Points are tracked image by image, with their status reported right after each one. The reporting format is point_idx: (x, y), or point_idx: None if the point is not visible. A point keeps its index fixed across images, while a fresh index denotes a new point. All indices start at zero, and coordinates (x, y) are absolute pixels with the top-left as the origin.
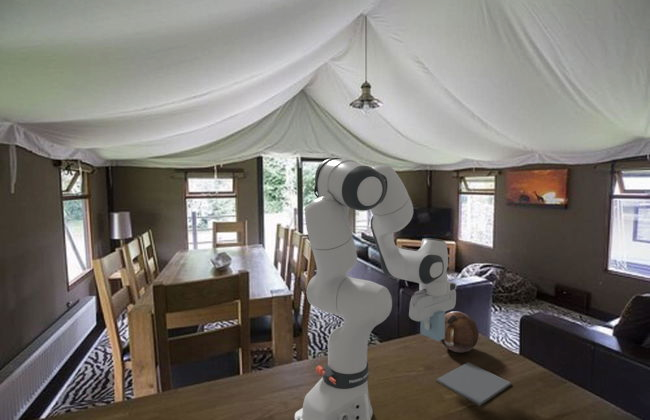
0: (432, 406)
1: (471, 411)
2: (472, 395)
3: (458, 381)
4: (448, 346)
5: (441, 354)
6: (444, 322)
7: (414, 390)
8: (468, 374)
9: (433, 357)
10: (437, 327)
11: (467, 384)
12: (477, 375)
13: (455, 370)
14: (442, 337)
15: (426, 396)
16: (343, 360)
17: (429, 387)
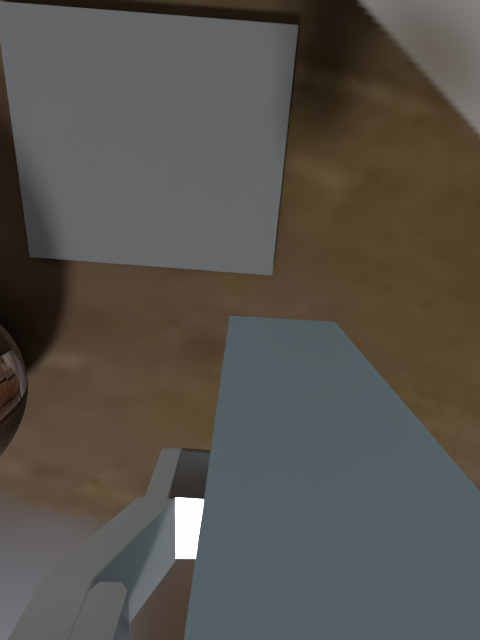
0: (444, 182)
1: (361, 38)
2: (265, 87)
3: (213, 198)
4: (25, 370)
5: (72, 372)
6: (229, 413)
7: (394, 293)
8: (121, 198)
9: (122, 380)
10: (396, 407)
11: (200, 155)
12: (92, 163)
13: (143, 257)
14: (264, 324)
15: (398, 239)
16: None
17: (332, 267)
